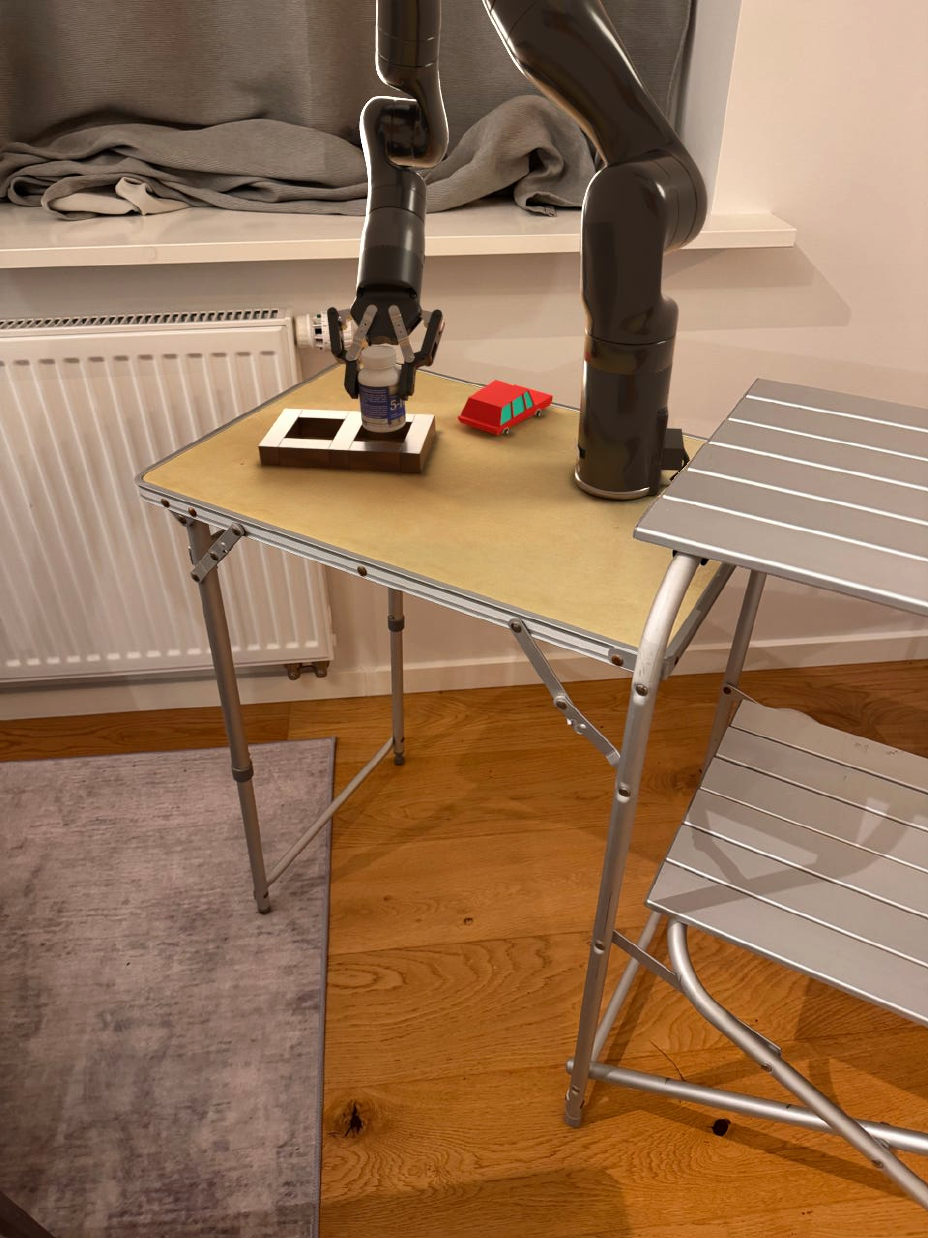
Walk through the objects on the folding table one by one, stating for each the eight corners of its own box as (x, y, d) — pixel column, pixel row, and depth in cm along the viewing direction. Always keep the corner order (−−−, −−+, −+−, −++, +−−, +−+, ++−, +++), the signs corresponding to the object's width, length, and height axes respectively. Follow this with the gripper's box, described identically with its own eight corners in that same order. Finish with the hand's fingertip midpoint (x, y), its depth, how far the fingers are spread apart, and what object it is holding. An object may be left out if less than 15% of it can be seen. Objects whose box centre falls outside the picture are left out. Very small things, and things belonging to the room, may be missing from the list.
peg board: (435, 433, 113) (434, 414, 112) (420, 473, 104) (419, 453, 103) (287, 426, 115) (284, 408, 114) (261, 465, 107) (257, 445, 105)
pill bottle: (399, 435, 105) (394, 360, 100) (356, 432, 106) (348, 358, 101) (411, 416, 109) (406, 344, 104) (369, 413, 110) (362, 341, 105)
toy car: (553, 408, 119) (555, 378, 116) (498, 440, 111) (498, 409, 109) (514, 396, 122) (514, 367, 120) (457, 426, 115) (456, 396, 112)
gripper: (323, 241, 103) (308, 382, 101) (448, 242, 101) (435, 386, 99) (340, 275, 110) (326, 407, 108) (456, 277, 109) (444, 411, 106)
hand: (378, 396), depth 104 cm, fingers closed on pill bottle, 5 cm apart
